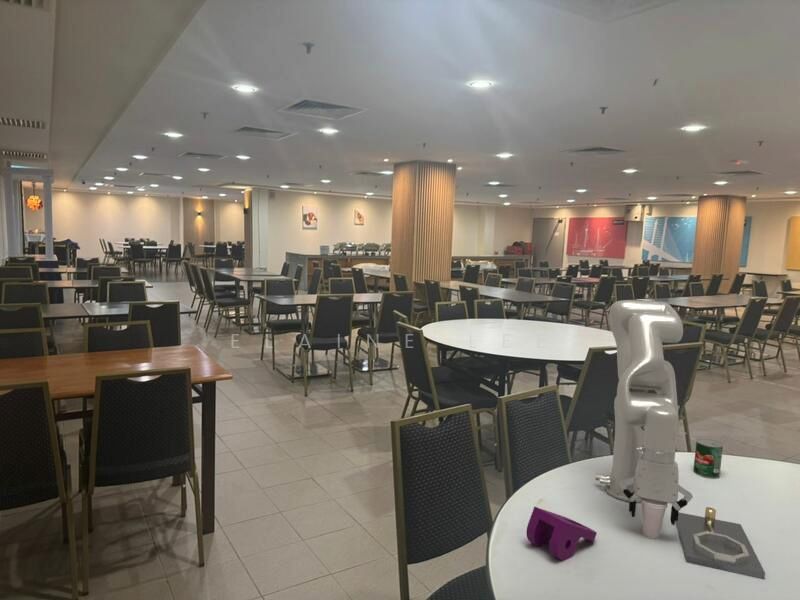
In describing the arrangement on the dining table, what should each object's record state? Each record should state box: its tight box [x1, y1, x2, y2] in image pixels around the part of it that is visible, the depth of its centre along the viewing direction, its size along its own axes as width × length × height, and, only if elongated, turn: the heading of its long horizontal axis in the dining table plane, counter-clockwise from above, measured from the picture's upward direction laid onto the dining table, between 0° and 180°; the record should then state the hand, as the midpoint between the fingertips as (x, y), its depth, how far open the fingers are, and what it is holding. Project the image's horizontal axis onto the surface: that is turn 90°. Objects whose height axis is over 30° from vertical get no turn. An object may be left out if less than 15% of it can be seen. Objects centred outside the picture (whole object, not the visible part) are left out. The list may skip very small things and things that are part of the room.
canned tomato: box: [693, 438, 724, 480], centre depth 182 cm, size 8×8×11 cm
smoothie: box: [640, 498, 669, 540], centre depth 140 cm, size 6×6×14 cm
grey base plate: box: [675, 507, 766, 580], centre depth 137 cm, size 16×24×6 cm, turn 159°
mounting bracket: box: [526, 506, 598, 562], centre depth 134 cm, size 9×8×18 cm
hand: (652, 518), depth 140 cm, fingers open, 9 cm apart
